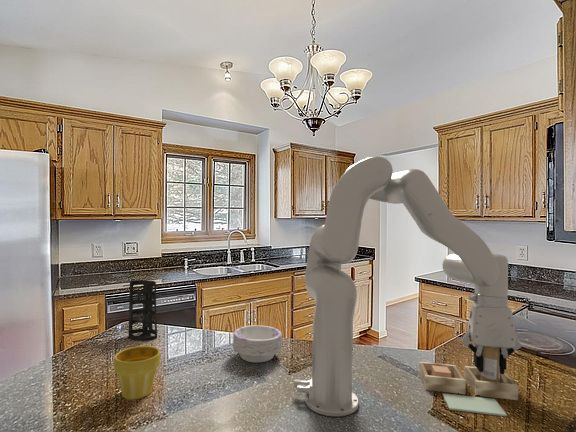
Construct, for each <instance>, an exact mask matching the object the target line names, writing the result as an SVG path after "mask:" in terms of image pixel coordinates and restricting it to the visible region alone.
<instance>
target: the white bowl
mask: <svg viewBox="0 0 576 432" xmlns="http://www.w3.org/2000/svg"><path fill="white" fill-rule="evenodd" d="M232 335H233V336H232V339H233V340H232V349H233V350H234V352H235V353H238V355H239V356H240V357H241V359H242V360H244V361H245V362H247V363H248V362H249V363H254V364H255V363H257V364H258V363H259V364H260V363H265V362H268V361H270V360H272V359H273V358H274V356H275V355H276V354H278V353H279V352H280V351H281V350H282V340H283V333H282V331H281V330H280V329H278V328H276V327H273V326H268V325H254V324H253V325H246V326H241V327H239V328H236V329H235V330H234V331H233V334H232Z"/></svg>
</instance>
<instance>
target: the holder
mask: <svg viewBox="0 0 576 432" xmlns="http://www.w3.org/2000/svg"><path fill="white" fill-rule="evenodd" d="M137 285H143V286H142V287H143V289H142V290H134V287H135V286H137ZM128 294H129V298H128V299H129V303H128V339H131V340H137V341H151V340H152V341H153V340H156V339H157V338H158V326H157V325H158V323H157V321H158V320H157V282H156V281H155V280H145V279H144V280H143V279H141V280H131V281H129V293H128ZM134 295H137V299H136V300H135V299H134ZM137 304H138V305H140V304H141V305H142V309H133V308H134V307H133V306H135V305H137ZM135 314H136V319H133V315H135ZM139 323H142V326H141V328H136V329H135V328H134V329H133V325H134V324H139ZM153 325H154V328H153ZM134 334H137V335H134ZM150 335H152V336H150Z"/></svg>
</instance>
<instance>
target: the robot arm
mask: <svg viewBox="0 0 576 432" xmlns="http://www.w3.org/2000/svg"><path fill="white" fill-rule="evenodd" d="M393 171H394V169H393V165H392V163H391V162H390V160H389V159H388V158H385V157H383V156H376V155H375V156H374V155H373V156H370V157H366V158H365V159H361V160H360V161H358V162H356V163H353V164H352V165H350V166H349V167H347V168H346V169H345V171H344V173H343V174H342V175H341V176H340V177H339V179H338V180H337V181H336V183H335V185H334V187H333V189H332V191H331V194H330V197H329V200H328V205H327V209H326V210H327V212H326V216H325V222H324V224H323V225H320V226H319V227H318V228H316V230H315V231H314V232H313V234H312V235H311V239H310V242H309V246H308V253H307V260H306V267H305V275H304V285H305V289H306V292H307V293H308V295H309V296H310V297H311V298H312V299H314V301H315V308H314V314H313V321H312V353H311V354H312V355H311V356H312V359H311V360H312V361H311V367H312V368H311V369H312V370H311V379H307V380H303V379H296V378H294V380H293V388H294V389H295V388H296V393H305V395H304V401H305V405H306V406H307V407H308V409H310V410H311V411H313V412H314V413H316V414H320V415H322V416H323V415H324V416H326V417H334V418H335V417H346V416H348V415H351V414H353V413H355V412H356V411H357V410H358V408H359V401H360V400H359V397H358V396H357V395H356V394H355V393H354V392H353V357H354V356H353V355H354V354H353V353H354V318H355V310H356V306H357V298H358V291H357V286H356V284H355V281H354V280H353V279H352V277H351V276H350V275H349V274H348V273H347V272H345V271H343V270H342V265H344V264H348V263H351V262H352V261H353V260H354V259H355V258H356V256H357V253H358V250H359V244H360V235H361V229H362V223H363V222H362V221H363V216H364V212H365V208H366V205H367V203H368V201H370V200H372V201H373V200H374V201H378V202H381V203H382V202H383V203H388V204H395V205H397V204H403V206H404V207H405V208H406V210H407V212H408V213H409V214H410V216H411V217H412V219H413V221H414V223H415V224H416V225H417V227H418V229H419V230H420V232H421V233H423V235H425V236H426V237H428V238H429V239H432V240H434V241H435V242H437V243H439V244H441V245H443V246H445V247H446V248H447V249H449V250H450V251H452V252H453V253H451V254H447V256H446V257H445V258H444V260H443V262H442V270H443V272H444V274H445V275H446V276H447V278H450V279H451V280H454V281H457V282H461V283H464V284H465V283H466V284H470V285H474V292H473V294H471V295H468V300H469V301H470V302H473V303H472V304H471V307H470V312H469V316H468V325H467V326H468V327H467V330H466V332H465V334H463V336H462V337H461V338H460V342H461V343H462V344H464V346H466V347H467V348H469V349H470V350H471V351H472V352H473V354H474V355H473V356H474V360H473V361H474V362H473V363H474V367H476V368H477V369H478V370H479V371H480V372H483V357H482V356H481V355H482V354H481V353H482V349H483V346H485V347H497V348H500V349H499V351H500V373H501V374H504V372H505V370H507V360H508V359H509V357H510V356H511V355H513V353H514V352H515V351H518V350H519V349H521V348H522V345H521V343H520V342H519V341H518V338H516V330H515V329H516V327H515V321H514V315H513V314H514V313H513V311H512V308H511V307H509V304H508V303H509V302H508V301H509V300H508V296H509V295H508V294H509V260H508V258H507V257H506V256H505V255H501V254H497V253H493V252H492V251H491V250H490V248H489V245H487V243H486V242H485V241H484V239H482V237H481V236H480V235H479V234H477V233H476V232H475V231H474V230H473V229H471V227H469V226H468V225H467V224H465V223H464V222H463V221H462V220H460V219H459V218H457V217H456V216H455V215H454V214H453V212H452V211H451V210H450V208H449V206H448V205H447V204H446V202H445V201H444V199H443V198H442V196H441V195H440V192H439V191H438V189H437V188H436V187H435V185H434V183H433V182H432V181H431V179H430V178H429V176H428V175H427V174H426V173H425V172H424V171H423V170H421V169H417V168H411V169H405V170H402V171H401V170H400V171H398V172H393ZM470 341H471V342H472V343H471V342H470Z"/></svg>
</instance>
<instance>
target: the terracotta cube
mask: <svg viewBox="0 0 576 432" xmlns="http://www.w3.org/2000/svg"><path fill="white" fill-rule="evenodd" d="M431 376H440V377H450V378H451V372H450V371H449V369H448V367H444V366H434V365H432V375H431Z"/></svg>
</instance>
